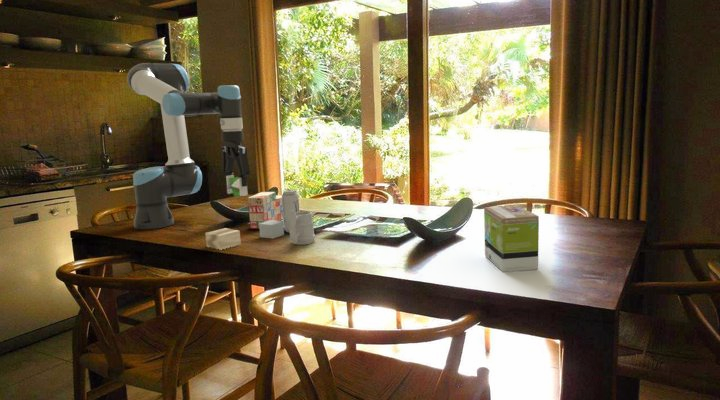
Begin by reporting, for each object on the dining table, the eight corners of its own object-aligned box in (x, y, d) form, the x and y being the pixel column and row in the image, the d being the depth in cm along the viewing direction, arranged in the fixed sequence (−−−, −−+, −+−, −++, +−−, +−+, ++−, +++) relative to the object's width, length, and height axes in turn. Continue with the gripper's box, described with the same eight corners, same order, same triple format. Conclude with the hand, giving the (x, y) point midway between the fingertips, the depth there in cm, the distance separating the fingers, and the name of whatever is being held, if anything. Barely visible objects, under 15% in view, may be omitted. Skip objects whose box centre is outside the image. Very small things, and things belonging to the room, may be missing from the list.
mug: (319, 239, 176) (317, 205, 174) (302, 248, 165) (299, 212, 163) (300, 238, 179) (297, 204, 177) (281, 247, 168) (279, 211, 166)
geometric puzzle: (221, 189, 187) (226, 172, 182) (238, 186, 191) (243, 170, 187) (230, 202, 183) (235, 186, 179) (247, 199, 188) (252, 183, 183)
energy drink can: (296, 233, 187) (293, 192, 184) (281, 232, 188) (278, 192, 186) (303, 229, 192) (301, 189, 189) (288, 228, 194) (286, 189, 191)
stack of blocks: (273, 216, 218) (271, 188, 216) (287, 217, 216) (285, 187, 214) (250, 228, 197) (247, 197, 195) (265, 229, 196) (262, 197, 194)
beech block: (206, 247, 173) (205, 232, 172) (226, 242, 179) (225, 228, 178) (220, 250, 168) (219, 235, 167) (240, 245, 174) (239, 230, 173)
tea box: (483, 256, 148) (483, 206, 146) (517, 254, 149) (517, 204, 147) (501, 273, 134) (502, 217, 131) (539, 270, 134) (540, 214, 132)
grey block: (260, 237, 183) (259, 223, 182) (271, 233, 188) (270, 220, 187) (273, 239, 180) (272, 225, 179) (284, 235, 185) (283, 221, 184)
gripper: (208, 130, 186) (213, 193, 190) (238, 131, 171) (243, 198, 176) (226, 129, 191) (232, 190, 196) (257, 129, 177) (262, 195, 181)
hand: (237, 194), depth 186 cm, fingers closed on geometric puzzle, 8 cm apart
